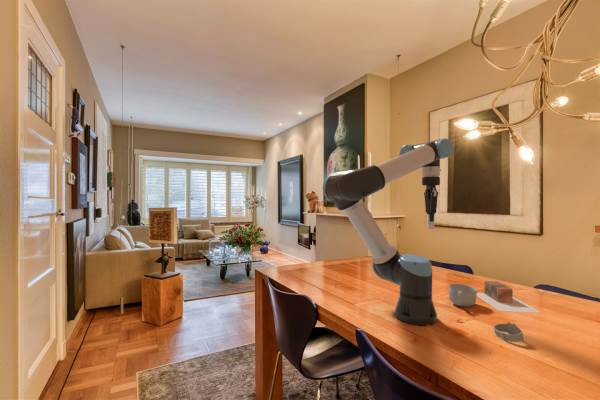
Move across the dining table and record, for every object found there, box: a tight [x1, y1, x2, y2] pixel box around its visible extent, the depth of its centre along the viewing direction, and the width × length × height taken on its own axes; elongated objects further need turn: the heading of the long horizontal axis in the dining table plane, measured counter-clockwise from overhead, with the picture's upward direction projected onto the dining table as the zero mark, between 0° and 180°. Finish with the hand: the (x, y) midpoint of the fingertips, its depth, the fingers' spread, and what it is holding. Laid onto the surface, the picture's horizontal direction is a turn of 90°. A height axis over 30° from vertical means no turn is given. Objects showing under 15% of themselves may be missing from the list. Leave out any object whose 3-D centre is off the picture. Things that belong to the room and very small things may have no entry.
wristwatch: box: [493, 321, 525, 343], centre depth 99 cm, size 9×6×5 cm
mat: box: [476, 292, 542, 314], centre depth 133 cm, size 24×16×1 cm, turn 173°
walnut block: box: [484, 280, 514, 303], centre depth 138 cm, size 6×6×12 cm
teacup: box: [448, 283, 478, 308], centre depth 129 cm, size 14×11×8 cm
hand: (430, 228), depth 137 cm, fingers closed
